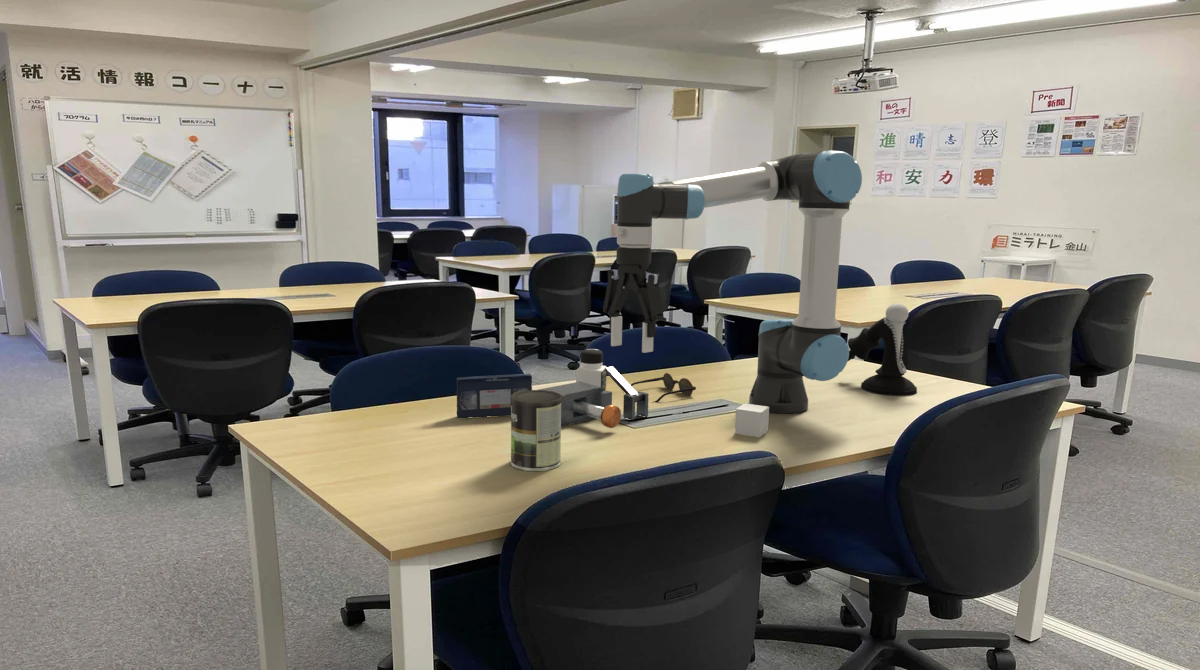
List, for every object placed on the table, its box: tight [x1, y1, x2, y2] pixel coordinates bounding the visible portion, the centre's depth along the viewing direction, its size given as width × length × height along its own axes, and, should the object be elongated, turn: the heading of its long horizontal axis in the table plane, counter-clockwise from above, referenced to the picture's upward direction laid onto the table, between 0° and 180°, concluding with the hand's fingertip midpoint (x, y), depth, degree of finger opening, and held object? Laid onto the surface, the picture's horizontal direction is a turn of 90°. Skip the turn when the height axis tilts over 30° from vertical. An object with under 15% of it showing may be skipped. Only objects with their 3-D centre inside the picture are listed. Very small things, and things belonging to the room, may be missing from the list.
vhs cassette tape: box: [455, 373, 533, 419], centre depth 200 cm, size 18×3×10 cm, turn 105°
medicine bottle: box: [575, 348, 607, 391], centre depth 224 cm, size 7×7×12 cm
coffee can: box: [510, 389, 562, 472], centre depth 165 cm, size 10×10×14 cm
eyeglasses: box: [630, 372, 697, 403], centre depth 224 cm, size 15×15×5 cm
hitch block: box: [537, 381, 602, 427], centre depth 198 cm, size 8×14×8 cm, turn 133°
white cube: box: [734, 403, 770, 438], centre depth 190 cm, size 6×6×6 cm
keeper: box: [604, 365, 644, 403], centre depth 203 cm, size 12×3×2 cm, turn 43°
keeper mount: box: [601, 390, 649, 420], centre depth 204 cm, size 14×6×6 cm, turn 43°
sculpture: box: [847, 303, 918, 397], centre depth 236 cm, size 15×24×25 cm, turn 45°
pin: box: [573, 400, 622, 429], centre depth 192 cm, size 13×5×5 cm, turn 43°
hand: (631, 348), depth 181 cm, fingers open, 9 cm apart
